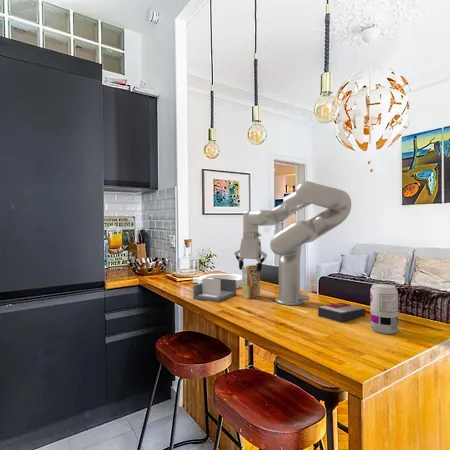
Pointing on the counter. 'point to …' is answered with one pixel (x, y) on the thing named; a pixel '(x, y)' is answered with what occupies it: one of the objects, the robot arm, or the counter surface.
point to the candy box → (250, 281)
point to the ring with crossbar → (222, 276)
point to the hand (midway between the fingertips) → (250, 270)
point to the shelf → (214, 289)
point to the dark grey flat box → (341, 312)
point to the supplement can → (384, 308)
